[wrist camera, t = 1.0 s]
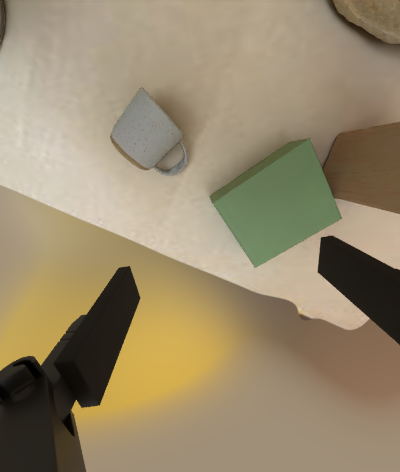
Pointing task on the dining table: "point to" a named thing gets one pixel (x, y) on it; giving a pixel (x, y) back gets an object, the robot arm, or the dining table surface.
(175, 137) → the ceramic mug
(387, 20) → the rough brown rock
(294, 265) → the dining table surface
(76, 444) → the robot arm
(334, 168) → the wooden block
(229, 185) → the green block
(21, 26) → the dining table surface
